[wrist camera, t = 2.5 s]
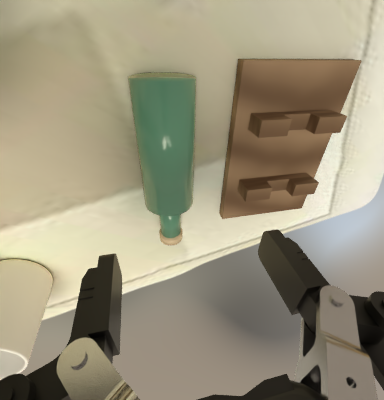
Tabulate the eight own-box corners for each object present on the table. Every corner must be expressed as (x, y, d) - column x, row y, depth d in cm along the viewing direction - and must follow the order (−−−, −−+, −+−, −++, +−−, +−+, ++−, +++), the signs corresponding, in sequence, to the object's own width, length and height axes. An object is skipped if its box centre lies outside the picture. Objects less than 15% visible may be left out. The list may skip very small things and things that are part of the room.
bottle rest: (238, 59, 20) (256, 63, 17) (351, 59, 22) (384, 63, 19) (219, 213, 30) (228, 231, 28) (296, 203, 33) (312, 219, 30)
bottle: (129, 72, 19) (126, 83, 15) (190, 72, 20) (202, 82, 15) (149, 224, 29) (150, 255, 25) (188, 220, 30) (195, 250, 26)
